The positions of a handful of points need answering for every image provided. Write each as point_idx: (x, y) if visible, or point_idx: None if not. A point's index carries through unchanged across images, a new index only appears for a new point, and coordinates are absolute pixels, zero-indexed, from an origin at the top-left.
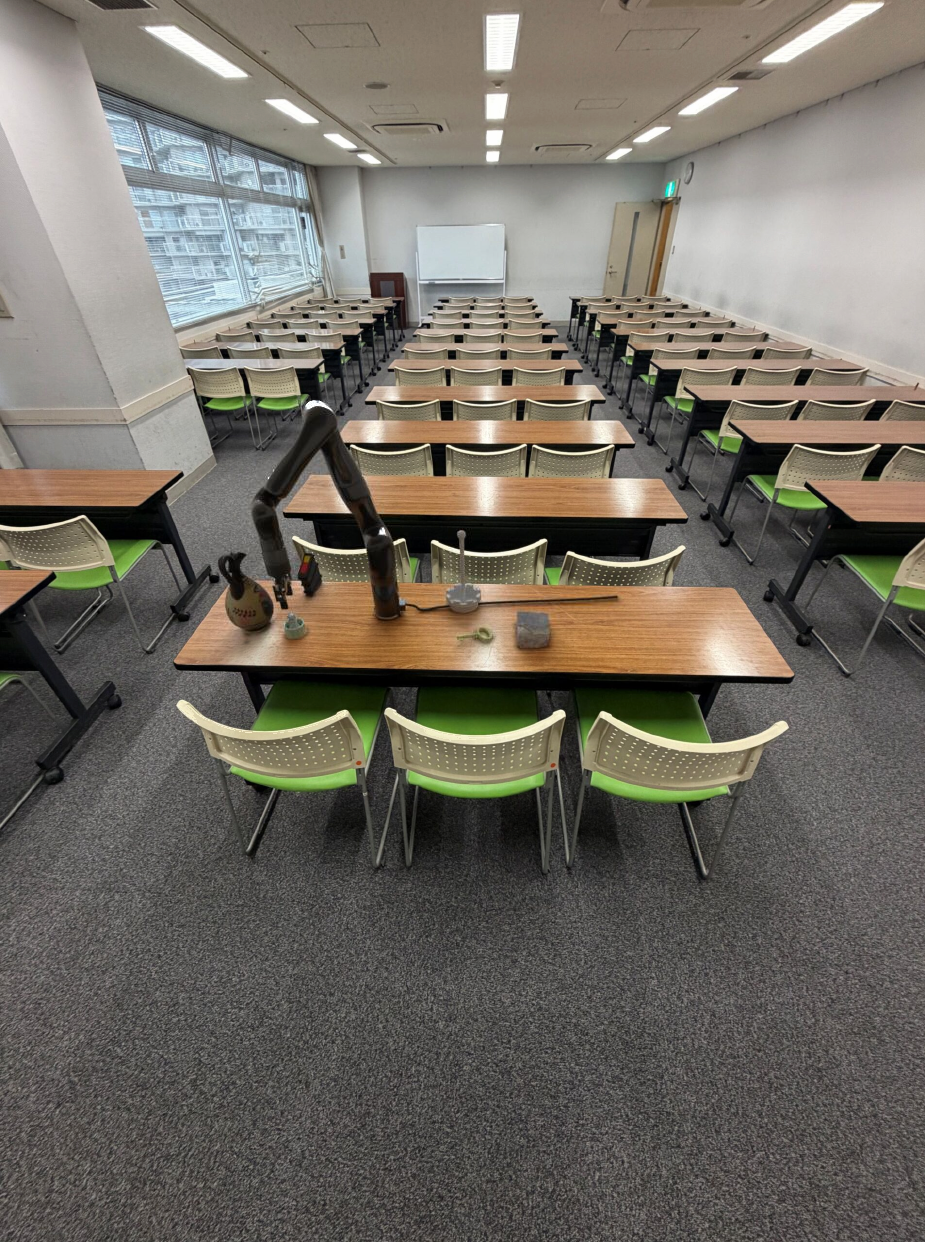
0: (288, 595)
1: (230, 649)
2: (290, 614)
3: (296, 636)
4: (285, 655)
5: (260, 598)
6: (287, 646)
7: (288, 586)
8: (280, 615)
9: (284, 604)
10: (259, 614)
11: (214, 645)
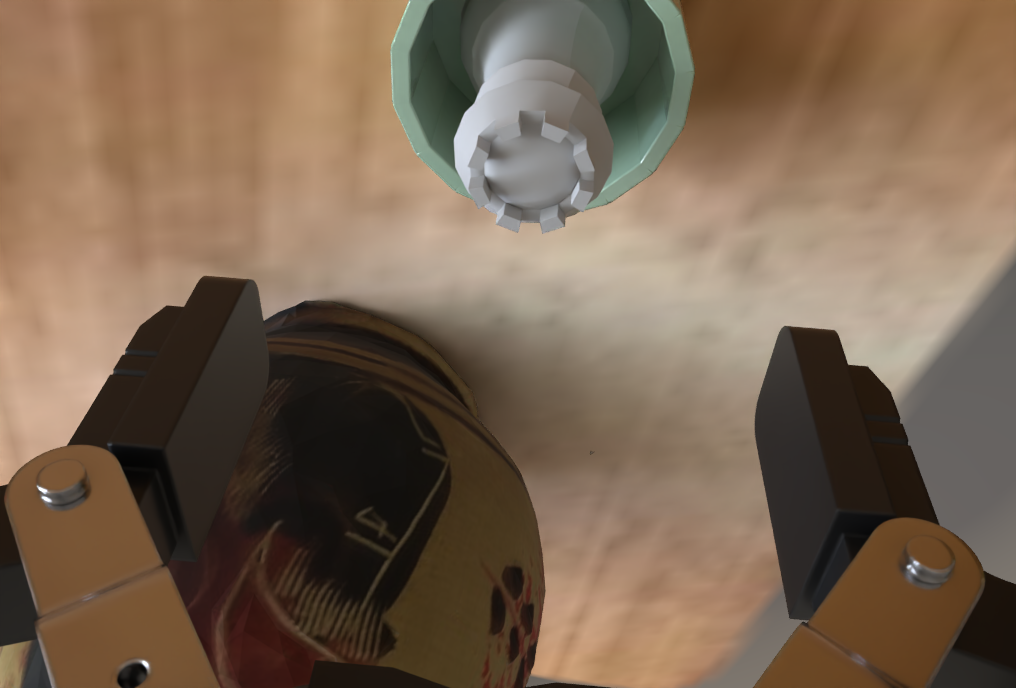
0: (266, 346)
1: (658, 530)
2: (526, 184)
3: (683, 13)
4: (979, 109)
5: (342, 659)
6: (800, 103)
7: (177, 486)
8: (156, 228)
9: (907, 471)
10: (488, 532)
11: (572, 608)
